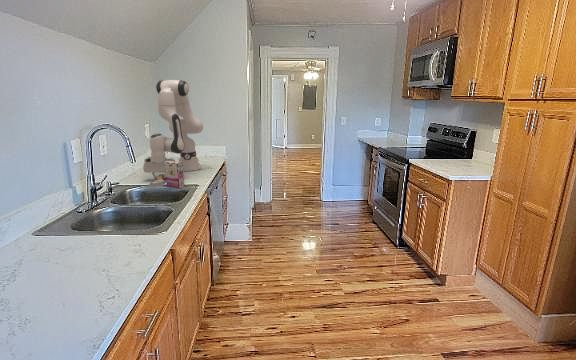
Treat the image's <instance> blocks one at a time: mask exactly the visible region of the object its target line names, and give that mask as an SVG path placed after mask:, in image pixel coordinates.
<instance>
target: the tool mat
mask: <svg viewBox="0 0 576 360" xmlns="http://www.w3.org/2000/svg"><path fill="white" fill-rule="evenodd" d="M154 180H157V179H154V178H153V180H152V181H151V182H150V183H149V184H148V185H147V187H163V186H165V185H166V184H167V183H166V178H164V182H163V183H162V184H152V182H153V181H154Z"/></svg>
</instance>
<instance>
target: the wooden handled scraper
mask: <svg viewBox="0 0 576 360" xmlns="http://www.w3.org/2000/svg"><path fill="white" fill-rule="evenodd" d="M165 175H166V173H160V174H158V175H156V176H157V180H154V179H153V180H154V181H153V180H152V181H153V182H152V181H151V182H152V184H162V183H163V182H164V176H165Z"/></svg>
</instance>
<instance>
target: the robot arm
mask: <svg viewBox="0 0 576 360" xmlns="http://www.w3.org/2000/svg"><path fill="white" fill-rule="evenodd" d="M155 89H156V93H157V94H158V103H157V106H158V107H157V109H158V111H157V112H158V114H159V116H160V117H161V118H162V119H163V120H165V121H167V122H168V129H169V130H170V132H171V133H172V137H167V136H164V135H163V134H162V133H154V134H152V135H151V136H150V137H149V146H150V150H151V151H150V152H151V153H150V155H149V156H147V157H146V158H144V159H143V162H144V163H143V166H142V167H143V172H144V173H145V174H146V173H149V174H150V173H151V175H152V176H153V180H154V179H157V176H158V175H156V173H164V174H165V176H164V178H166V172H165V162H167V161H176V160H175V159H174V158H172V157H170V158H169V157H167V156H166V152H168V153H172V154H173V153H174V154H177V155H180V158H178V162H183V172H192V171H197V170H202V165H201V164H200V162H199V158H198V157H197V150H196V143H195V140H194V139H193V138H190V137H189V136H188V134H190V135H193V134H194V135H195V134H199V133H202V131H203V129H204V124H203V122H202V121H201V119H198V117H196V115H194V113H193V111H192V108H191V105H190V100H189V95H188V94H189V92H190V86H189V84H188V82H187V81H185V80H183V79H182V80H178V79H166V80H164V79H163V80H162V79H161V80H158V82H157V83H156V86H155ZM180 117H181V118H180Z"/></svg>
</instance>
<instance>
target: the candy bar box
mask: <svg viewBox="0 0 576 360" xmlns="http://www.w3.org/2000/svg"><path fill="white" fill-rule="evenodd" d="M165 172H166V173H165ZM165 172H164V173H165V175H166V183H165V184H166V187H168V188H169V187H170V188H175V189H182V188H184V187H186V185H185V177H184V171H183V162H179V161H176V160H175V161H167V162H165Z"/></svg>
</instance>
